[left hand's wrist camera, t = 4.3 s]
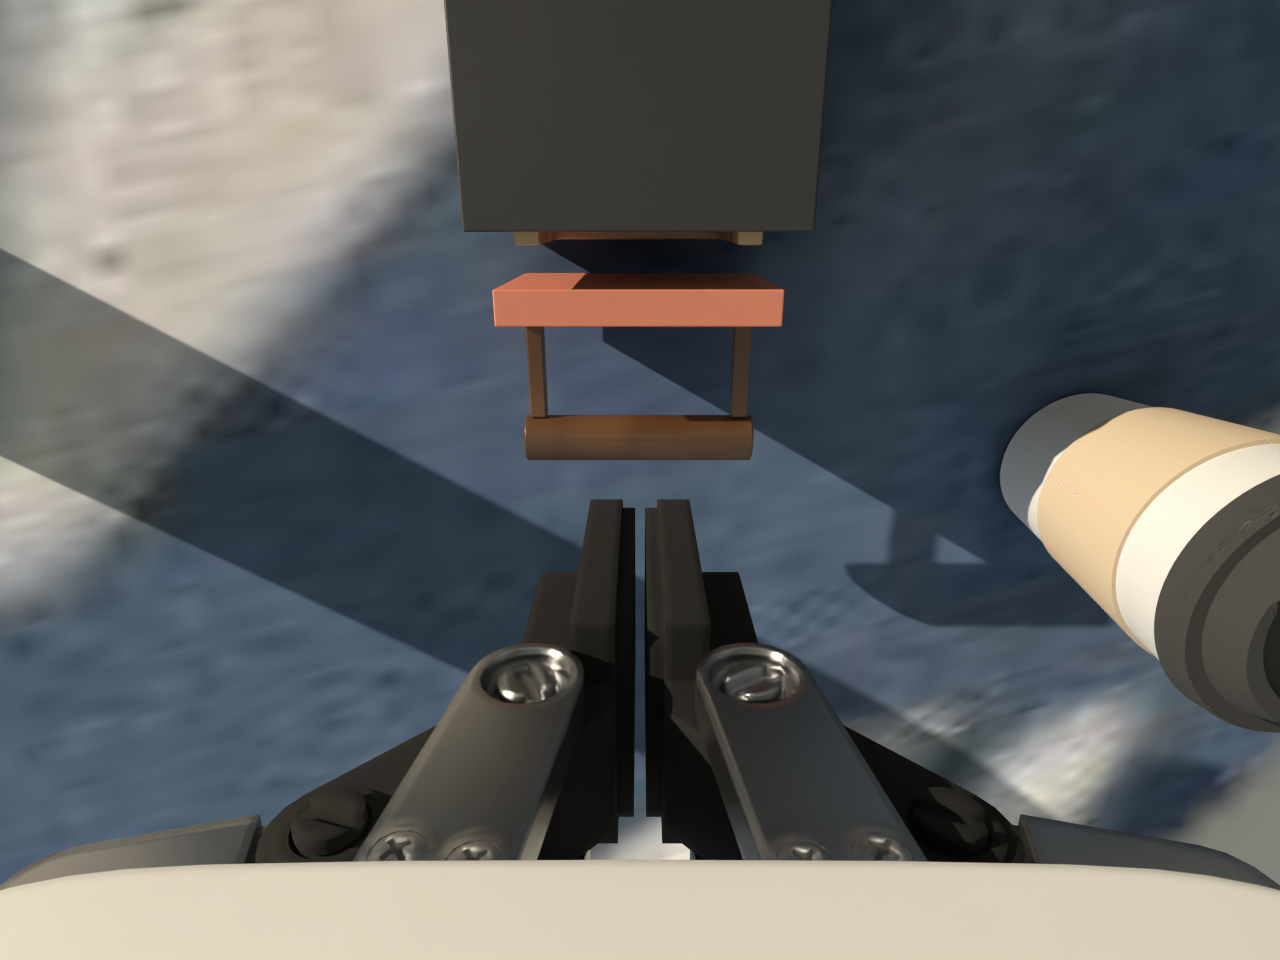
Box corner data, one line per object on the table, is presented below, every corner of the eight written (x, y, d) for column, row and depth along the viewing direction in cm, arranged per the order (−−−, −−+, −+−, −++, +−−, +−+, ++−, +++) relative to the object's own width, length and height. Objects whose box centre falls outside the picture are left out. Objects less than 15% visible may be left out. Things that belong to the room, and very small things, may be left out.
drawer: (745, 427, 32) (771, 481, 26) (532, 427, 32) (505, 481, 26) (783, -293, 24) (837, -487, 17) (493, -293, 24) (437, -487, 17)
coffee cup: (1206, 477, 34) (1610, 664, 20) (1034, 584, 36) (1290, 824, 22) (1119, 327, 31) (1508, 418, 17) (940, 451, 33) (1159, 624, 19)
